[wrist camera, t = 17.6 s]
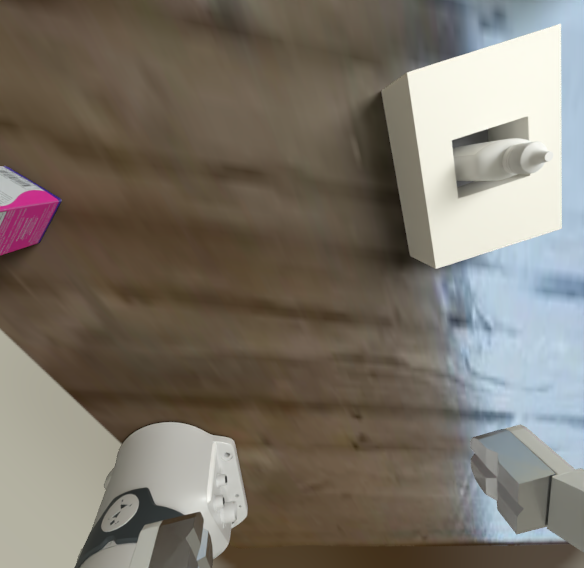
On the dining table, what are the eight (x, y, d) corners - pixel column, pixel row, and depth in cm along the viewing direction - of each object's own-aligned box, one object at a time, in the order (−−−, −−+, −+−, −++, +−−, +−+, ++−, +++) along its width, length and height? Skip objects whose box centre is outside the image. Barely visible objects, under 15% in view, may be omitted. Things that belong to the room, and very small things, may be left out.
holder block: (517, 221, 39) (561, 228, 33) (409, 255, 39) (436, 268, 33) (508, 50, 33) (560, 23, 27) (381, 90, 33) (406, 72, 27)
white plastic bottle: (441, 135, 34) (532, 114, 23) (485, 150, 35) (592, 137, 24) (426, 176, 36) (505, 175, 24) (469, 189, 37) (564, 194, 25)
